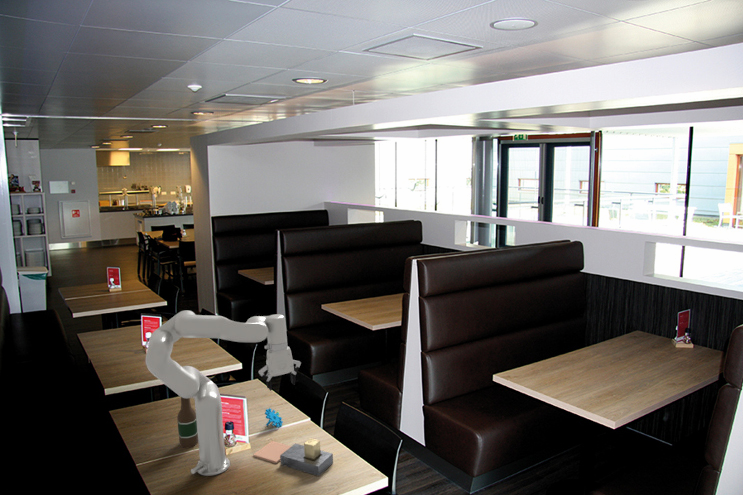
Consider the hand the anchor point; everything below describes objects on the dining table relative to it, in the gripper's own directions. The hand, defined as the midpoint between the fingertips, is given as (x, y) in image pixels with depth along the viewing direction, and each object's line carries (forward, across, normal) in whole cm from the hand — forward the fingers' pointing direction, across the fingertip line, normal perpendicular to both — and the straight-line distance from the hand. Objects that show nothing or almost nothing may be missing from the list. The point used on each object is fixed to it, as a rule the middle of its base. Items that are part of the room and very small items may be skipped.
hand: (281, 386), depth 216 cm
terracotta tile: (+28, -5, +2) cm, 29 cm away
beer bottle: (+27, -35, +28) cm, 52 cm away
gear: (+29, +2, +25) cm, 38 cm away
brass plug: (+29, +5, -15) cm, 33 cm away
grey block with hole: (+29, +4, -13) cm, 31 cm away
